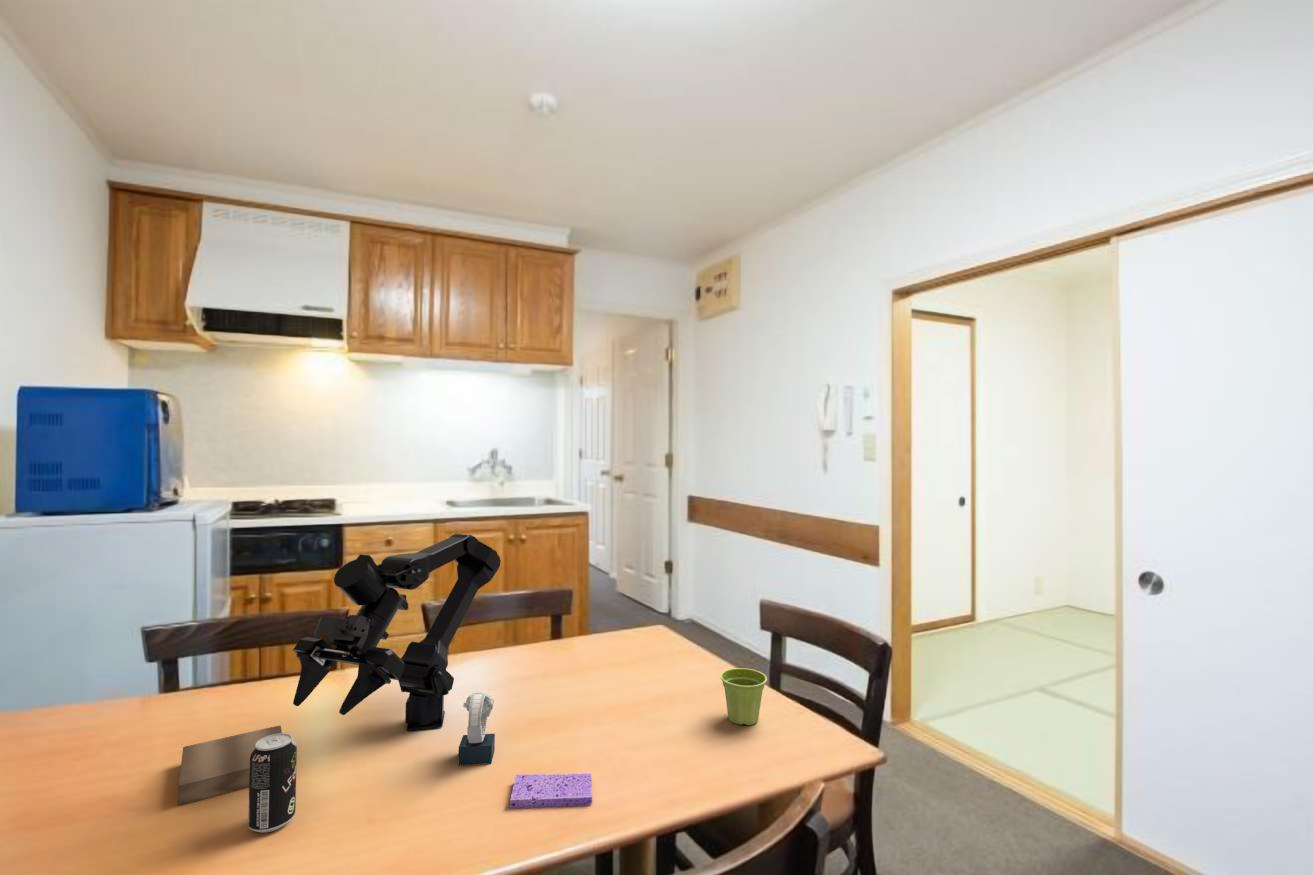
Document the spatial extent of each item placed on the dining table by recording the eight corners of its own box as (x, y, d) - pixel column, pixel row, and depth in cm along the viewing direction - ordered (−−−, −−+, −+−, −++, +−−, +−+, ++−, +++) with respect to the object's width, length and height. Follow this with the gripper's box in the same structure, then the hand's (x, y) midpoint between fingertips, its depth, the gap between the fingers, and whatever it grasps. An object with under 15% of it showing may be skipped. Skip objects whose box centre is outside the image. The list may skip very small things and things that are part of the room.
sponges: (515, 785, 97) (515, 773, 97) (592, 782, 99) (593, 771, 99) (509, 811, 90) (509, 799, 91) (592, 808, 92) (592, 796, 92)
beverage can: (289, 806, 90) (291, 726, 90) (299, 824, 86) (301, 740, 86) (244, 822, 86) (246, 739, 86) (252, 842, 82) (254, 754, 82)
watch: (495, 745, 109) (497, 685, 109) (489, 768, 101) (491, 704, 101) (464, 746, 108) (465, 686, 109) (455, 770, 101) (457, 705, 101)
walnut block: (280, 741, 109) (280, 725, 109) (286, 776, 98) (287, 758, 98) (182, 764, 101) (183, 746, 101) (178, 805, 90) (178, 785, 90)
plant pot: (745, 734, 115) (746, 689, 115) (710, 717, 122) (711, 674, 122) (775, 720, 121) (776, 677, 121) (740, 704, 128) (741, 664, 128)
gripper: (304, 589, 101) (239, 678, 91) (393, 599, 96) (336, 695, 85) (340, 622, 109) (284, 708, 98) (425, 634, 103) (376, 726, 93)
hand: (318, 709), depth 93 cm, fingers open, 9 cm apart
